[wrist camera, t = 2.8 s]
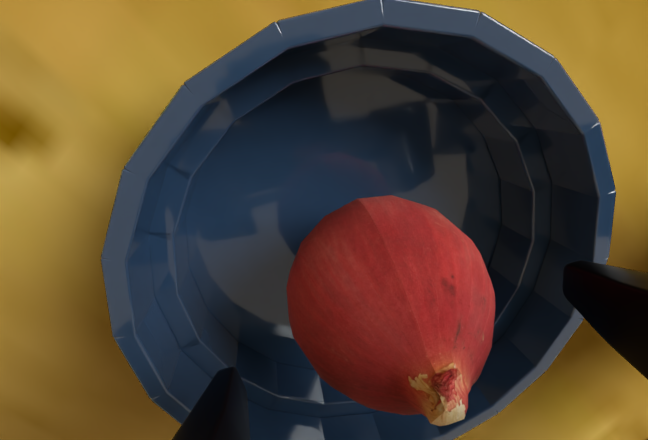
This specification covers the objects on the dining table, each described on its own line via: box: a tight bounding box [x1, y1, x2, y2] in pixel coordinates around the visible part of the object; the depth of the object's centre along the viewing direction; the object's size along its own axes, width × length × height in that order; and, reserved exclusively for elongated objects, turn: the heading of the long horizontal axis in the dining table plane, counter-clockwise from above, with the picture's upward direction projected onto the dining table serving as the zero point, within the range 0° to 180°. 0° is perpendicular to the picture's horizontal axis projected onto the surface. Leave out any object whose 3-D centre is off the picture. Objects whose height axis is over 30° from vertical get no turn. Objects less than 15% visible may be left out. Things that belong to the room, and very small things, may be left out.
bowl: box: [101, 0, 616, 440], centre depth 12 cm, size 15×15×4 cm
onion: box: [286, 195, 495, 426], centre depth 10 cm, size 6×6×8 cm
